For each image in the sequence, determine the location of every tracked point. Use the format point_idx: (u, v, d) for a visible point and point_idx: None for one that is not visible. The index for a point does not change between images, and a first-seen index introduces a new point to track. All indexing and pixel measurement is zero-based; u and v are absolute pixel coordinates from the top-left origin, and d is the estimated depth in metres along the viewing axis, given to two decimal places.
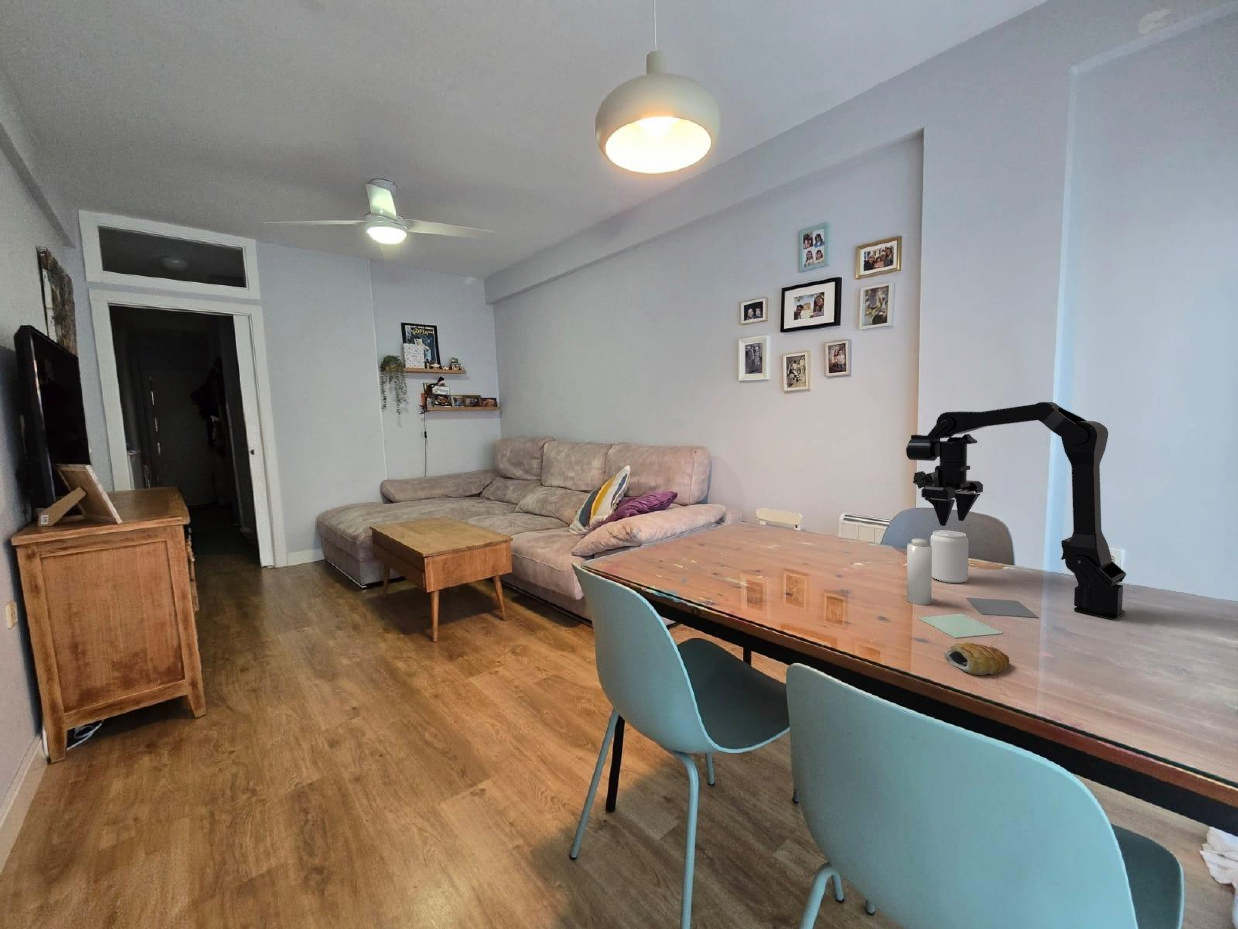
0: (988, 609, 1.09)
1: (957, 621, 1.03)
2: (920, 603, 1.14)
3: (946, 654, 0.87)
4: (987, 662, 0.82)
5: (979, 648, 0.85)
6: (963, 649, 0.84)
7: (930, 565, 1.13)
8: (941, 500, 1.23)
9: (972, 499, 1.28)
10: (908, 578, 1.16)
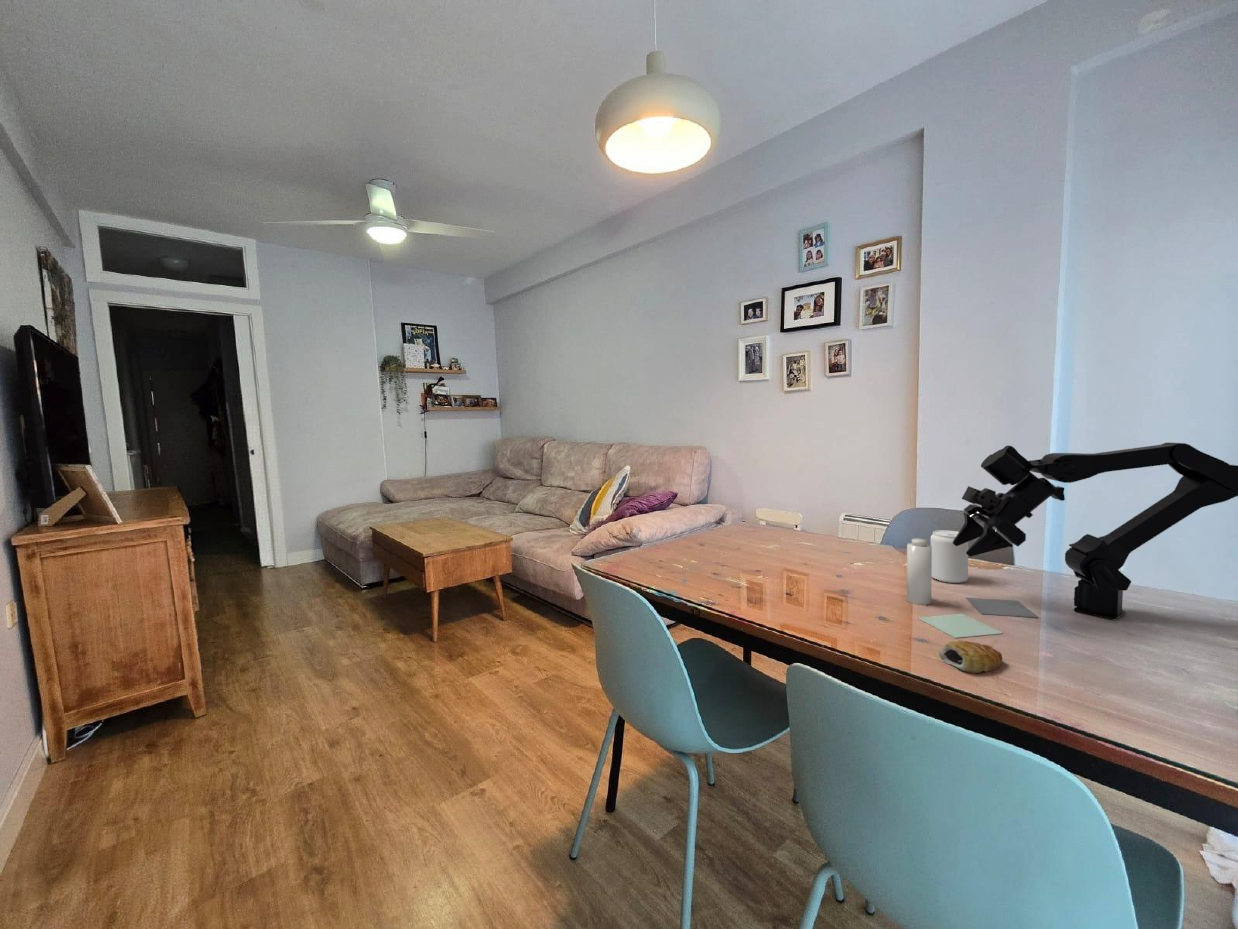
0: (988, 609, 1.09)
1: (957, 621, 1.03)
2: (920, 603, 1.14)
3: (941, 652, 0.88)
4: (982, 659, 0.83)
5: (973, 646, 0.85)
6: (958, 647, 0.85)
7: (930, 565, 1.13)
8: (1006, 540, 1.03)
9: (982, 534, 1.15)
10: (908, 578, 1.16)
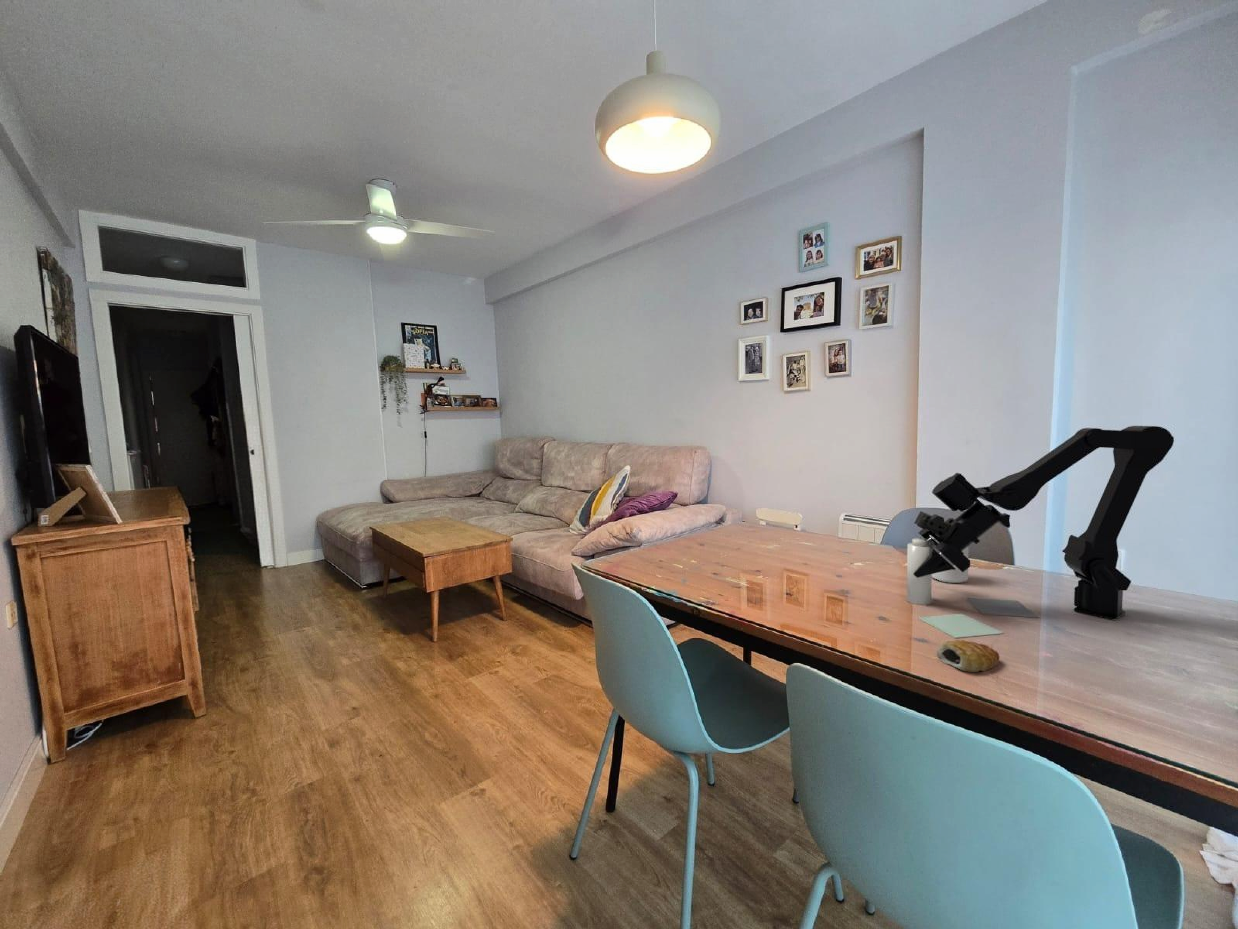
0: (988, 609, 1.09)
1: (957, 621, 1.03)
2: (920, 603, 1.14)
3: (938, 652, 0.88)
4: (980, 659, 0.84)
5: (971, 645, 0.86)
6: (956, 647, 0.85)
7: None
8: (949, 563, 1.08)
9: None
10: (908, 578, 1.16)
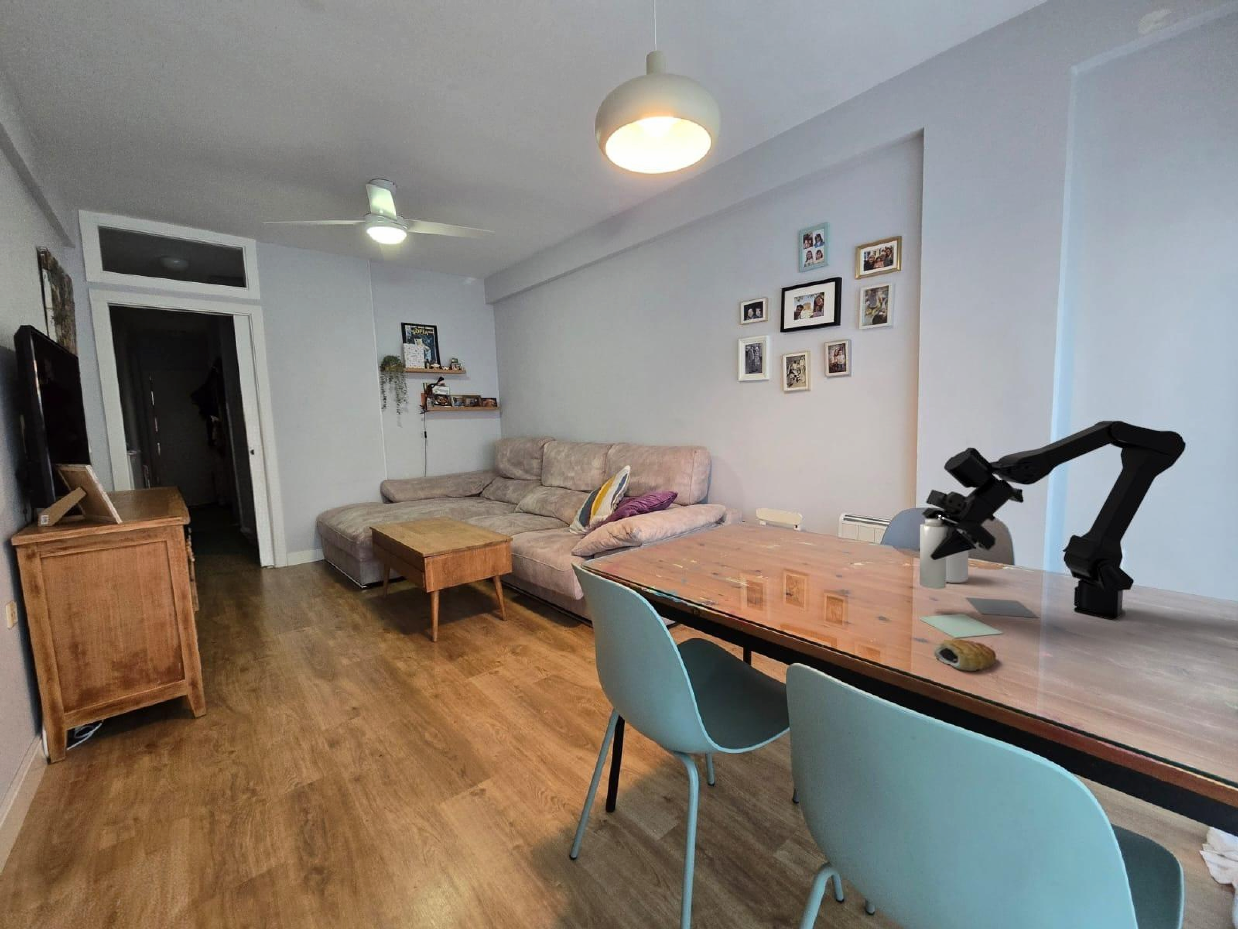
0: (988, 609, 1.09)
1: (957, 621, 1.03)
2: (937, 587, 1.07)
3: (936, 651, 0.88)
4: (977, 657, 0.84)
5: (968, 644, 0.86)
6: (953, 646, 0.86)
7: None
8: (970, 543, 1.02)
9: None
10: (922, 561, 1.08)
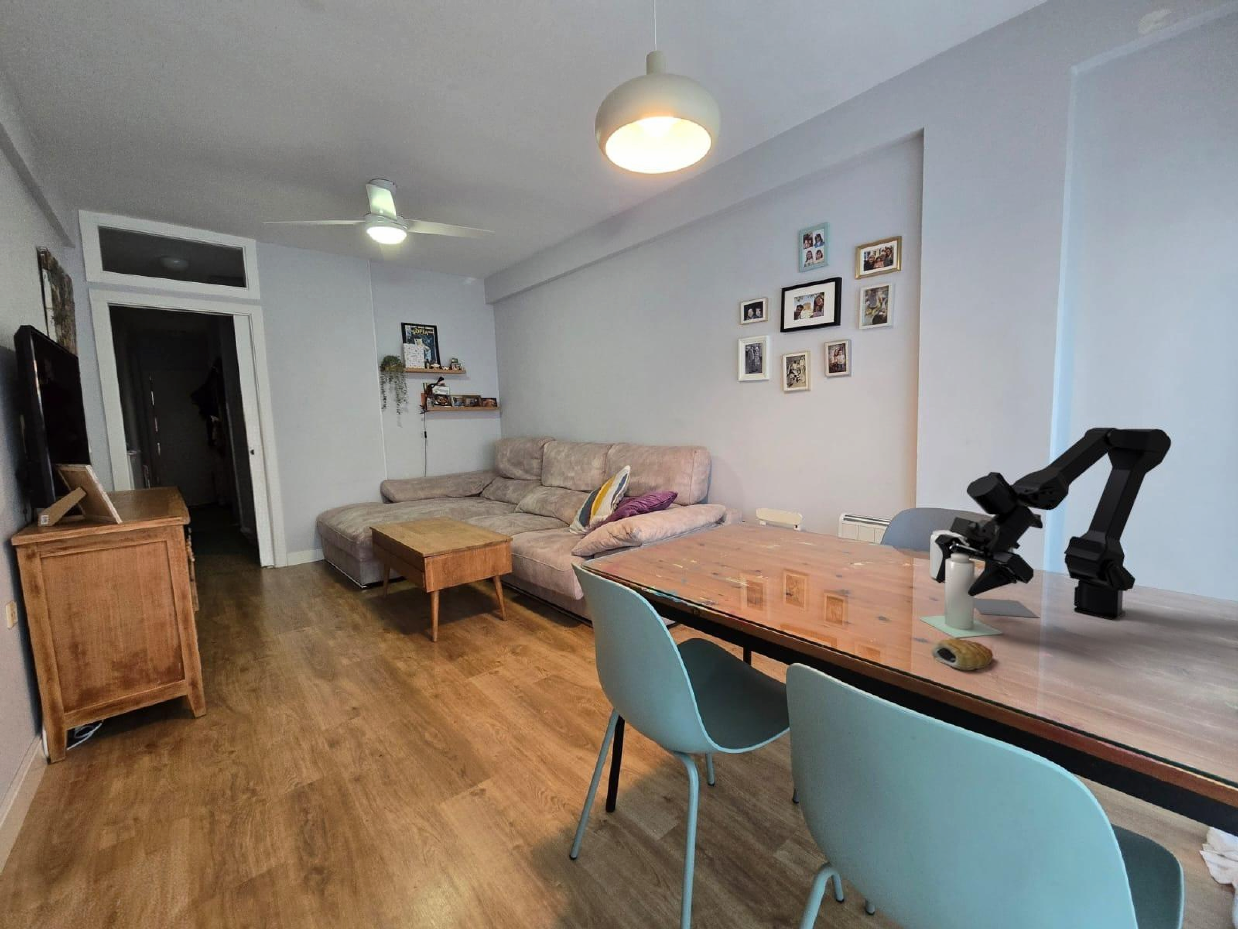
0: (988, 609, 1.09)
1: None
2: (967, 628, 0.99)
3: (933, 651, 0.89)
4: (974, 657, 0.84)
5: (965, 644, 0.86)
6: (951, 645, 0.86)
7: None
8: (1012, 577, 0.94)
9: None
10: (951, 600, 1.00)
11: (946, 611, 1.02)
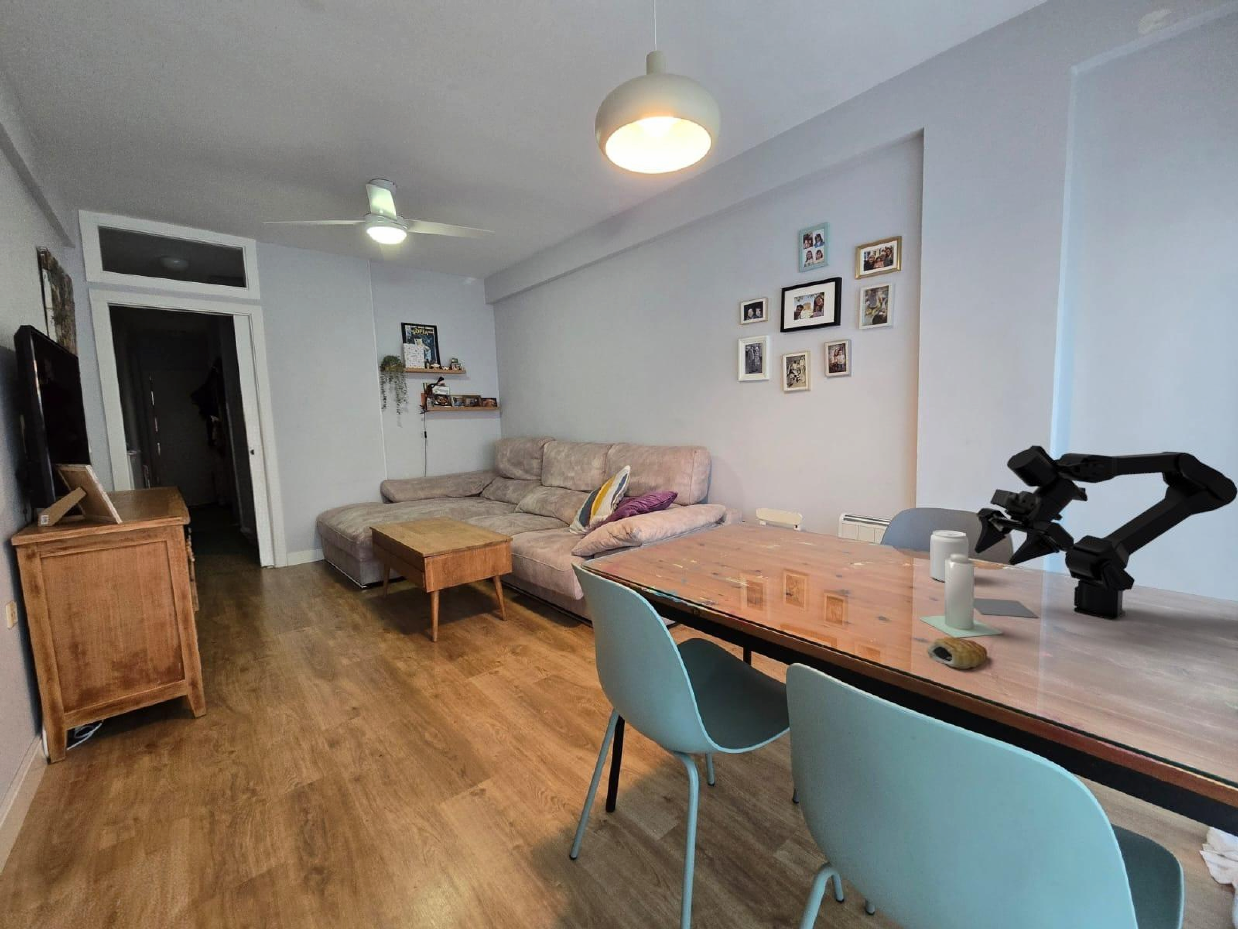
0: (988, 609, 1.09)
1: None
2: (967, 628, 0.99)
3: (929, 650, 0.89)
4: (970, 655, 0.85)
5: (960, 642, 0.87)
6: (947, 644, 0.86)
7: (973, 583, 1.00)
8: (1054, 546, 0.96)
9: (1001, 539, 1.09)
10: (950, 600, 1.00)
11: (946, 611, 1.02)
